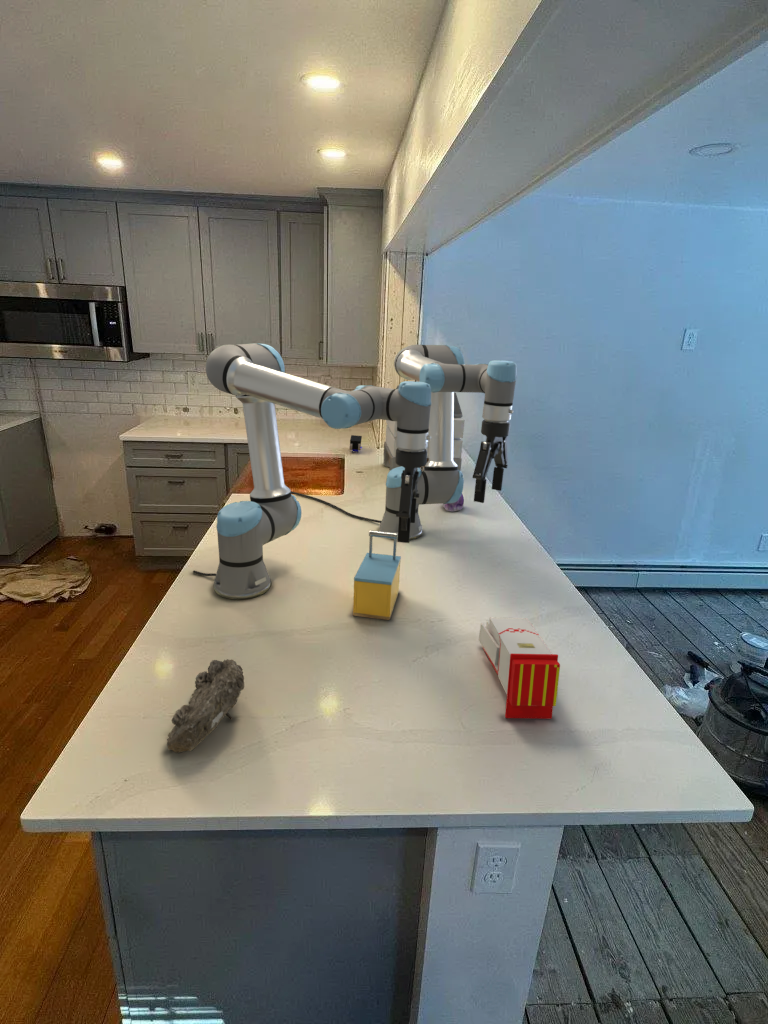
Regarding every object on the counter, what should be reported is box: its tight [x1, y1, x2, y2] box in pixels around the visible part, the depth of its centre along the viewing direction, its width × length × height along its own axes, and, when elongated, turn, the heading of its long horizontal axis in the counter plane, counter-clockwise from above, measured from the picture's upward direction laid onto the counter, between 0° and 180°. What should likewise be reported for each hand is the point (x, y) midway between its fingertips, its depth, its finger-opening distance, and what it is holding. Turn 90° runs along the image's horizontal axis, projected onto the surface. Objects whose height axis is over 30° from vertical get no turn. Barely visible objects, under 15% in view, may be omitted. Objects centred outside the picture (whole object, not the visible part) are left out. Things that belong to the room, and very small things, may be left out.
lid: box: [353, 529, 402, 585], centre depth 148 cm, size 16×10×8 cm, turn 170°
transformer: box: [383, 384, 465, 472], centre depth 268 cm, size 34×33×41 cm
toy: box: [478, 616, 561, 720], centre depth 122 cm, size 12×13×30 cm
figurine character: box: [349, 434, 363, 454], centre depth 310 cm, size 7×8×15 cm
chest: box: [352, 561, 401, 621], centre depth 151 cm, size 16×10×10 cm, turn 170°
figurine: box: [442, 493, 465, 512], centre depth 226 cm, size 9×10×15 cm
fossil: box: [166, 658, 245, 754], centre depth 106 cm, size 22×10×15 cm
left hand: (406, 531), depth 142 cm, fingers open, 13 cm apart
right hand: (487, 495), depth 159 cm, fingers open, 13 cm apart
